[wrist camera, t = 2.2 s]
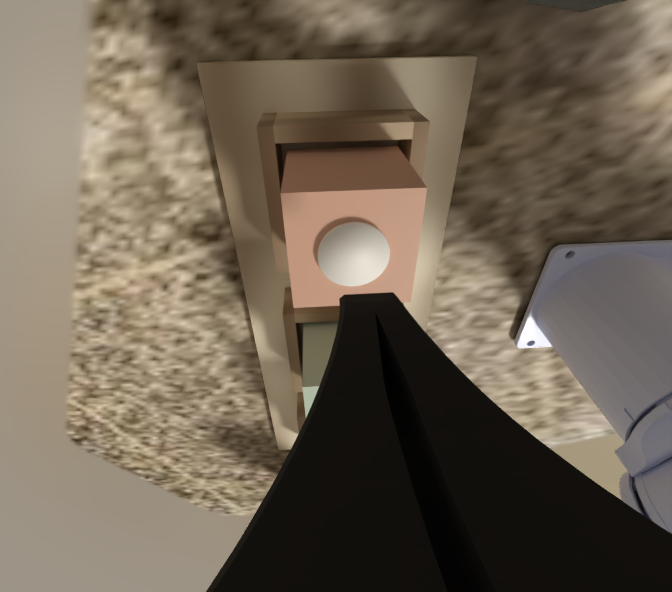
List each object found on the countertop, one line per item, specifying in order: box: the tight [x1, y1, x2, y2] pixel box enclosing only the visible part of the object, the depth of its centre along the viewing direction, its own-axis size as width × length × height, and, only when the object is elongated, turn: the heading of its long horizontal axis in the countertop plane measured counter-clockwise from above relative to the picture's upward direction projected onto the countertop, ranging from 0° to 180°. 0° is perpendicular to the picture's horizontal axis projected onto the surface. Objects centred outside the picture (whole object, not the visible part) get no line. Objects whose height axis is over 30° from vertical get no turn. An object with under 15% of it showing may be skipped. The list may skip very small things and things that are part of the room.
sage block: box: [302, 321, 338, 417], centre depth 19 cm, size 4×4×5 cm
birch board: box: [196, 55, 478, 450], centre depth 22 cm, size 11×28×3 cm, turn 1°
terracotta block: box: [280, 146, 427, 308], centre depth 14 cm, size 4×4×5 cm
